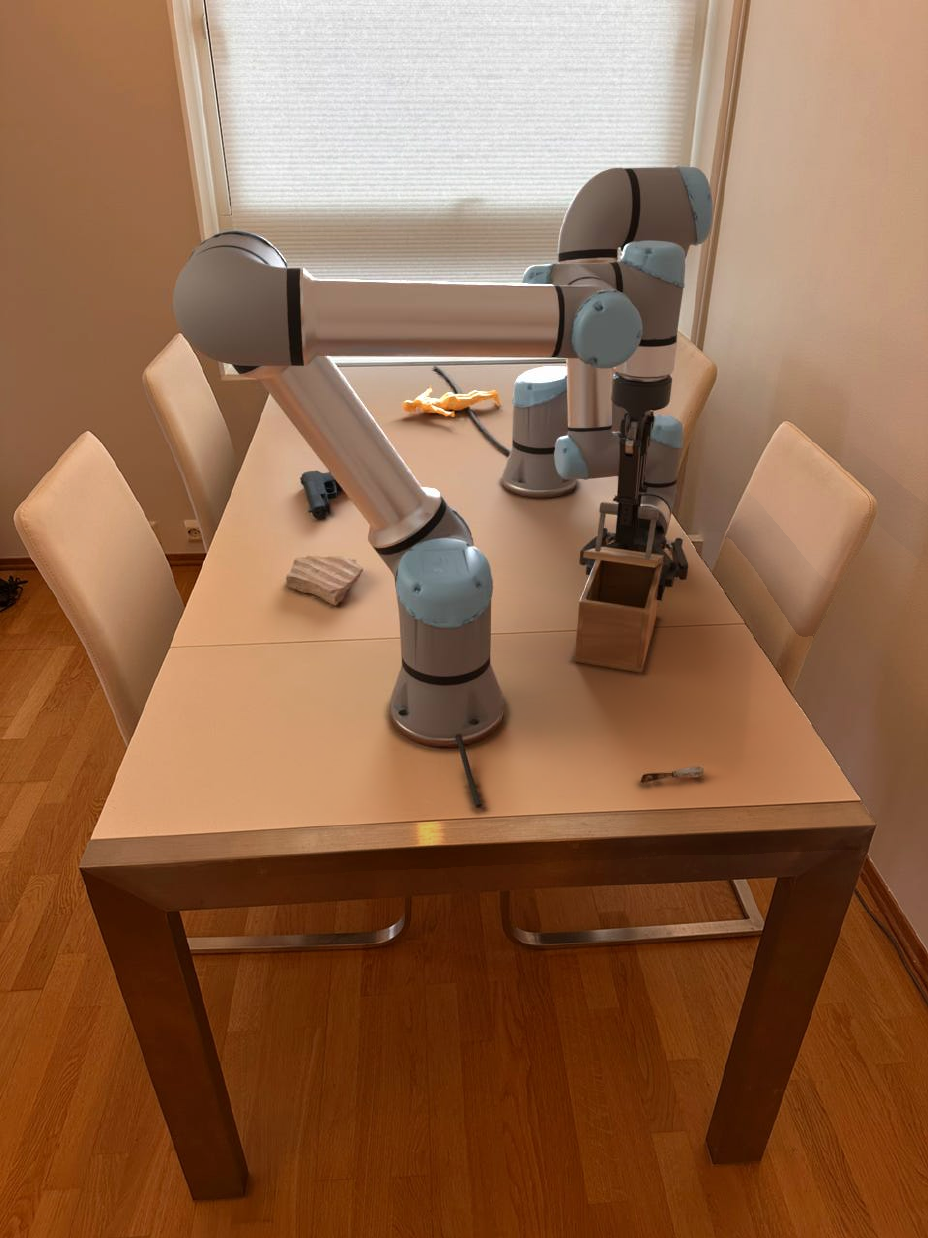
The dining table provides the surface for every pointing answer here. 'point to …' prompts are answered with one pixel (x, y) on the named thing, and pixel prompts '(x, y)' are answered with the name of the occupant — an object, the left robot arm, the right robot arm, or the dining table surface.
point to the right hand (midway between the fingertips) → (625, 587)
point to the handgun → (319, 491)
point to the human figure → (448, 402)
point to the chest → (617, 615)
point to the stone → (323, 576)
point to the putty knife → (674, 774)
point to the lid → (625, 555)
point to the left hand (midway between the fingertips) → (626, 539)
